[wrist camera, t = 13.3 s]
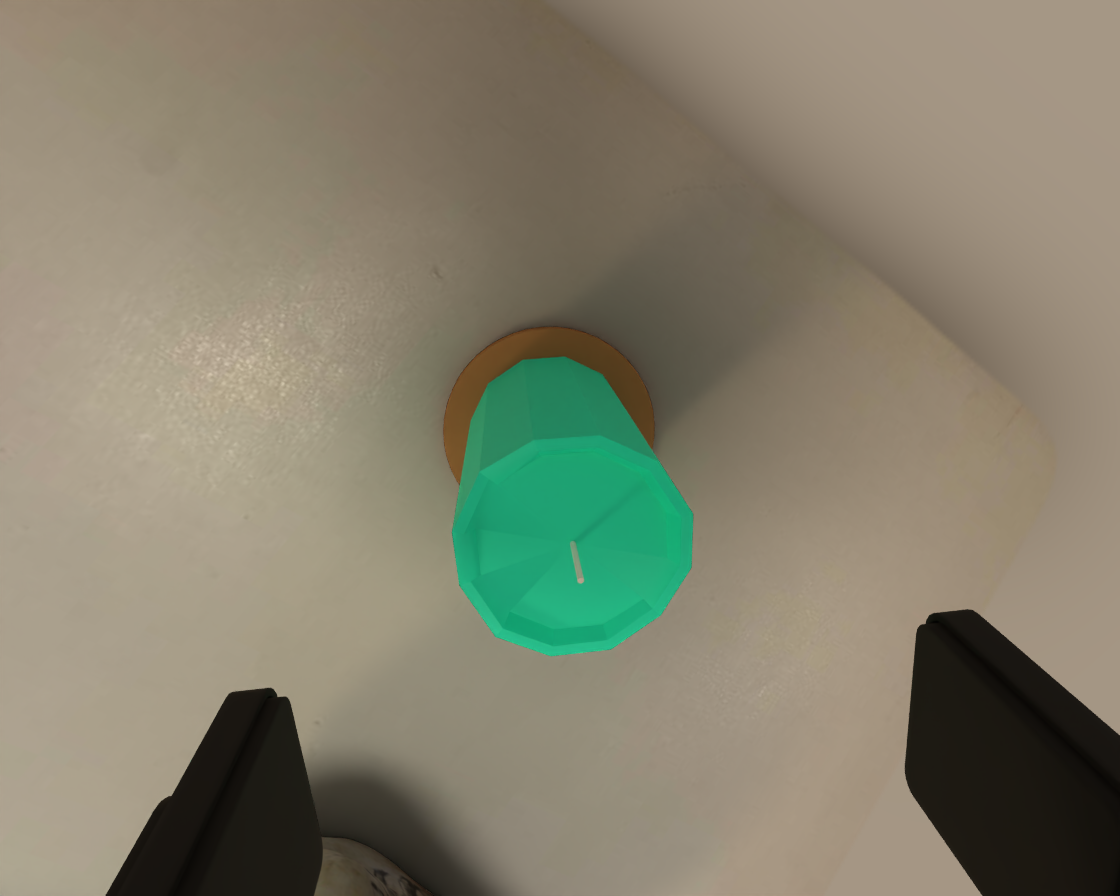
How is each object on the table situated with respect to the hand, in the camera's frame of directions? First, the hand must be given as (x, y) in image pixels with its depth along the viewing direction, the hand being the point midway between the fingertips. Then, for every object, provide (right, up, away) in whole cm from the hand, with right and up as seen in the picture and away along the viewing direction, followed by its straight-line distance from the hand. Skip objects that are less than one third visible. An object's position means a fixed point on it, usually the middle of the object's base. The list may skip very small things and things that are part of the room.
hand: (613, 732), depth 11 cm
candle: (-1, +5, +17) cm, 18 cm away
